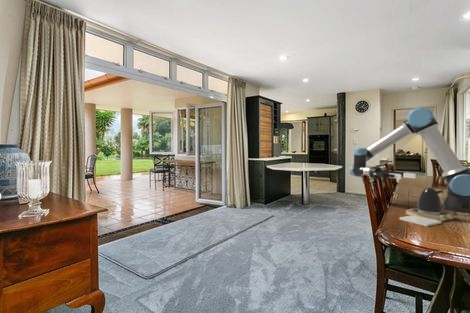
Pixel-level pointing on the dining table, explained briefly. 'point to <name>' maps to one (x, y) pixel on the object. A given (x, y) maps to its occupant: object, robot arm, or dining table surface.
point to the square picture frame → (441, 217)
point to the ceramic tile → (420, 220)
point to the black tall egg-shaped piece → (429, 202)
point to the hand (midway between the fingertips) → (408, 176)
